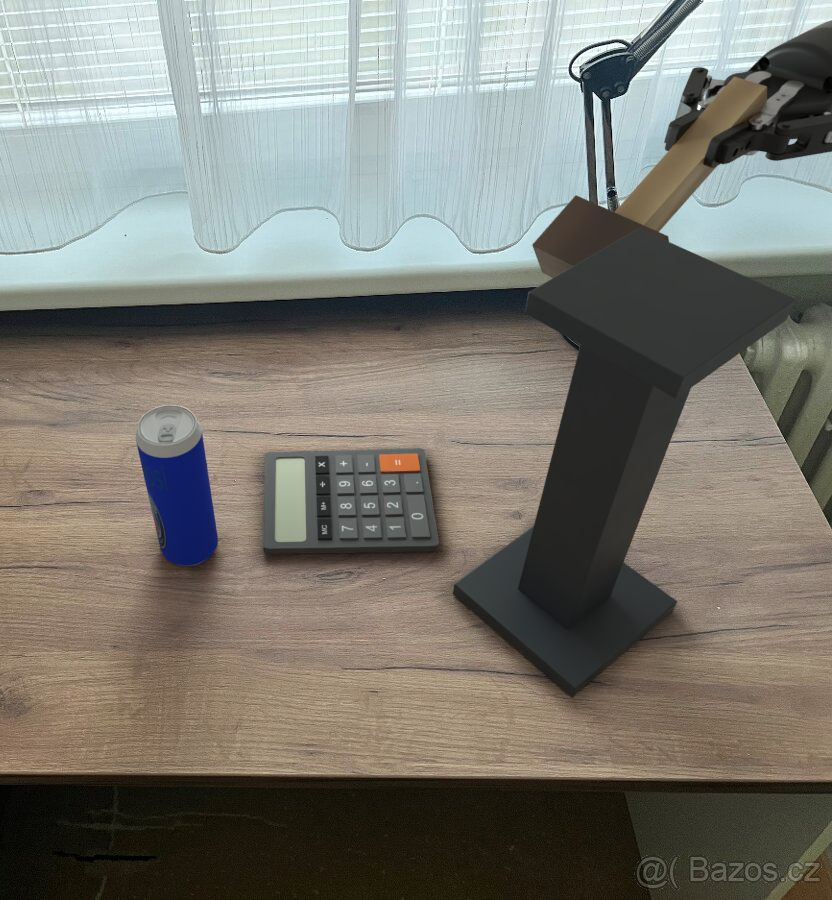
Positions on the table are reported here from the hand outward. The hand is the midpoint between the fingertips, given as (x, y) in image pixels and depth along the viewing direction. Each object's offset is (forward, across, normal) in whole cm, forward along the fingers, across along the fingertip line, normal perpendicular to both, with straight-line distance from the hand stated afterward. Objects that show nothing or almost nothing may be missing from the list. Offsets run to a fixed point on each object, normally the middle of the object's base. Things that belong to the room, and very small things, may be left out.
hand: (691, 146), depth 65 cm
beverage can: (+40, -13, +28) cm, 51 cm away
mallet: (+1, 0, +4) cm, 4 cm away
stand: (+20, +11, +28) cm, 36 cm away
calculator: (+26, -8, +28) cm, 39 cm away
